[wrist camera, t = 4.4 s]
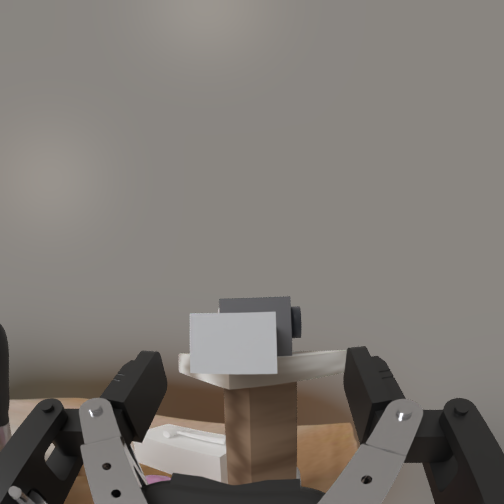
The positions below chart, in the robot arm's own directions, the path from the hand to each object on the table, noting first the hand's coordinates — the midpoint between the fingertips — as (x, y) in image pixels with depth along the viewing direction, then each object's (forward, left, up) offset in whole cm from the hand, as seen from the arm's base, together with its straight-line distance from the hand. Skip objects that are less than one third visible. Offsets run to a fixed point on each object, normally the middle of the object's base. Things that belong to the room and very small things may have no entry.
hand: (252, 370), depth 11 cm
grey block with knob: (-8, +5, 0) cm, 9 cm away
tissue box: (-57, +15, -33) cm, 67 cm away
